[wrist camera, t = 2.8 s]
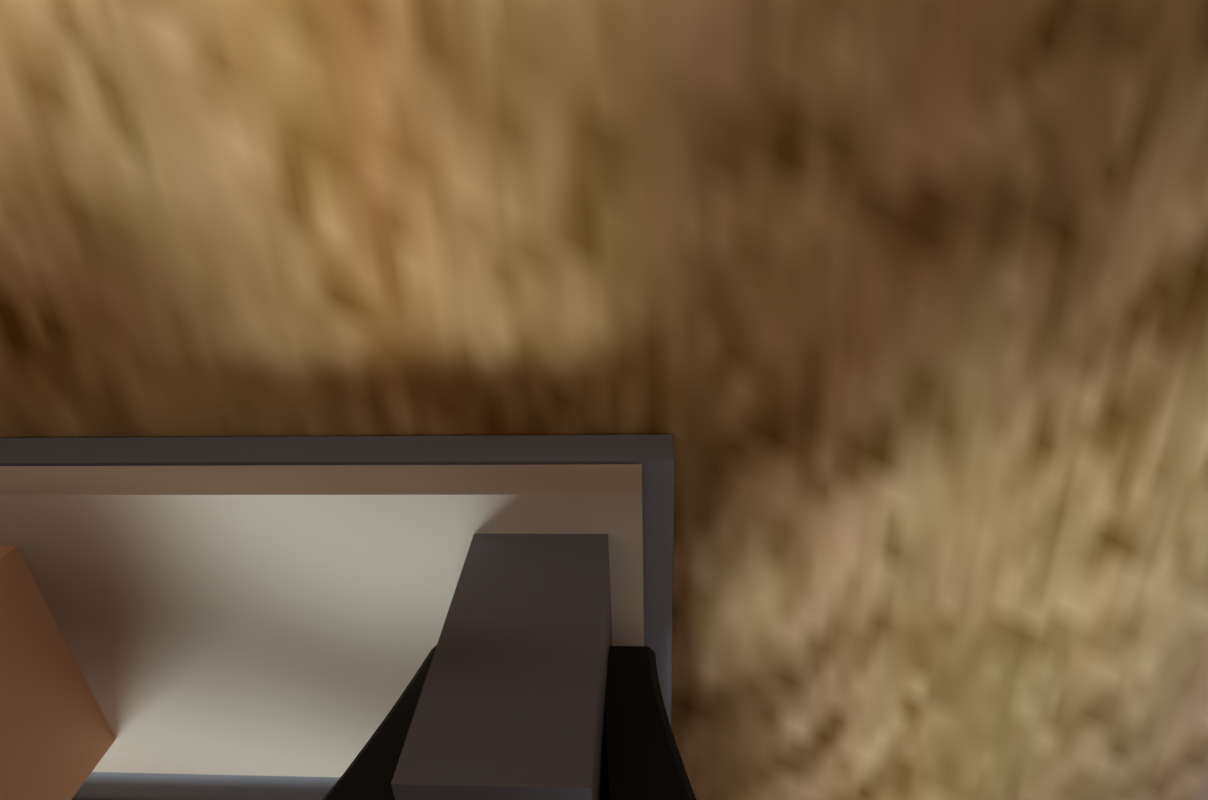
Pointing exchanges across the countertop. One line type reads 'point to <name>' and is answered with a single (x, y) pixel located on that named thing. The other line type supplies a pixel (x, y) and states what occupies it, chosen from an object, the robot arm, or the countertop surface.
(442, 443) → the lane board
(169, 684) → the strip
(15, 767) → the block
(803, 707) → the countertop surface
